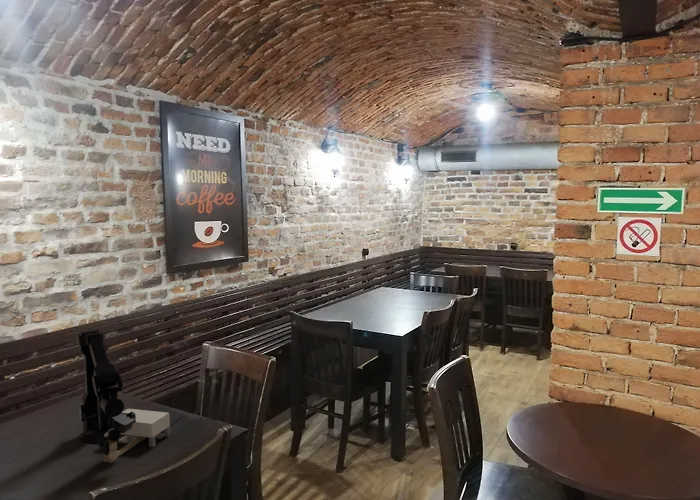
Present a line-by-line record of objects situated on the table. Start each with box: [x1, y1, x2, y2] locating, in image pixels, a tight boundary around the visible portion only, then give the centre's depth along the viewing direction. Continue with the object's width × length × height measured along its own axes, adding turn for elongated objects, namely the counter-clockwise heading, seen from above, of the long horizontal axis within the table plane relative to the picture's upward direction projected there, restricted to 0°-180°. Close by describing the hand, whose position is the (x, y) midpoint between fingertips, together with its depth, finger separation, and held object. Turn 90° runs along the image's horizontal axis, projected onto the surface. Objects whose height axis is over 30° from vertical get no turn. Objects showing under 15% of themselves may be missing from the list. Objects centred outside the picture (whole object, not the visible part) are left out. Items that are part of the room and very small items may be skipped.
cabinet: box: [120, 408, 171, 448], centre depth 185 cm, size 18×10×8 cm, turn 74°
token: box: [118, 434, 140, 445], centre depth 184 cm, size 6×6×1 cm
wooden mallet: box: [102, 436, 148, 463], centre depth 178 cm, size 10×21×6 cm, turn 164°
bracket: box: [162, 413, 184, 433], centre depth 199 cm, size 14×15×3 cm
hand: (110, 452), depth 169 cm, fingers closed on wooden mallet, 3 cm apart
